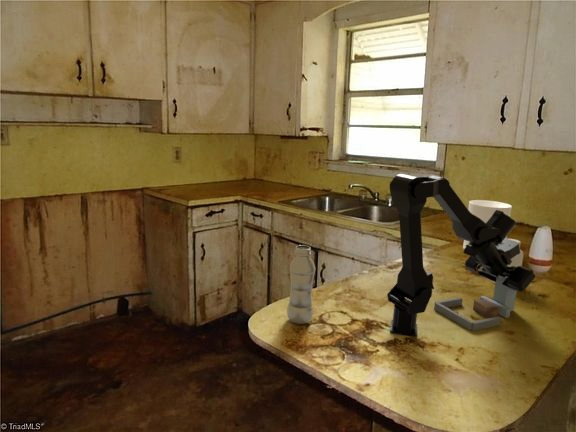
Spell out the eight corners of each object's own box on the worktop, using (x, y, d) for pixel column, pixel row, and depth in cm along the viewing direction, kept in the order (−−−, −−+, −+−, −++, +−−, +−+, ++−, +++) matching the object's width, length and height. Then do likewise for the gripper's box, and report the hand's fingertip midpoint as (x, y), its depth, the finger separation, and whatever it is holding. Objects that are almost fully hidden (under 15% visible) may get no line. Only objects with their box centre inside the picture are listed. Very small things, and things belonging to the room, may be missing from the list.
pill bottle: (496, 277, 147) (503, 235, 144) (521, 284, 142) (529, 241, 138) (487, 282, 142) (494, 239, 138) (513, 290, 136) (521, 245, 133)
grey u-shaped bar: (471, 331, 108) (472, 324, 108) (432, 308, 120) (433, 302, 120) (499, 324, 112) (500, 318, 112) (459, 303, 124) (460, 297, 124)
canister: (492, 245, 187) (499, 200, 182) (512, 257, 171) (520, 208, 167) (456, 244, 186) (462, 199, 182) (473, 255, 170) (480, 207, 166)
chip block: (484, 317, 116) (486, 307, 116) (472, 309, 121) (474, 300, 120) (497, 316, 117) (498, 306, 117) (484, 308, 122) (486, 299, 121)
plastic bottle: (297, 313, 114) (300, 241, 110) (317, 321, 110) (321, 247, 106) (281, 321, 109) (284, 247, 105) (302, 330, 105) (306, 253, 101)
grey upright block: (505, 317, 116) (511, 280, 114) (479, 304, 124) (484, 269, 122) (521, 314, 119) (527, 277, 116) (494, 301, 127) (499, 266, 124)
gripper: (537, 240, 107) (557, 277, 114) (477, 223, 123) (498, 255, 130) (510, 273, 106) (533, 308, 112) (453, 251, 122) (476, 283, 129)
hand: (509, 286), depth 121 cm, fingers closed on grey upright block, 4 cm apart
